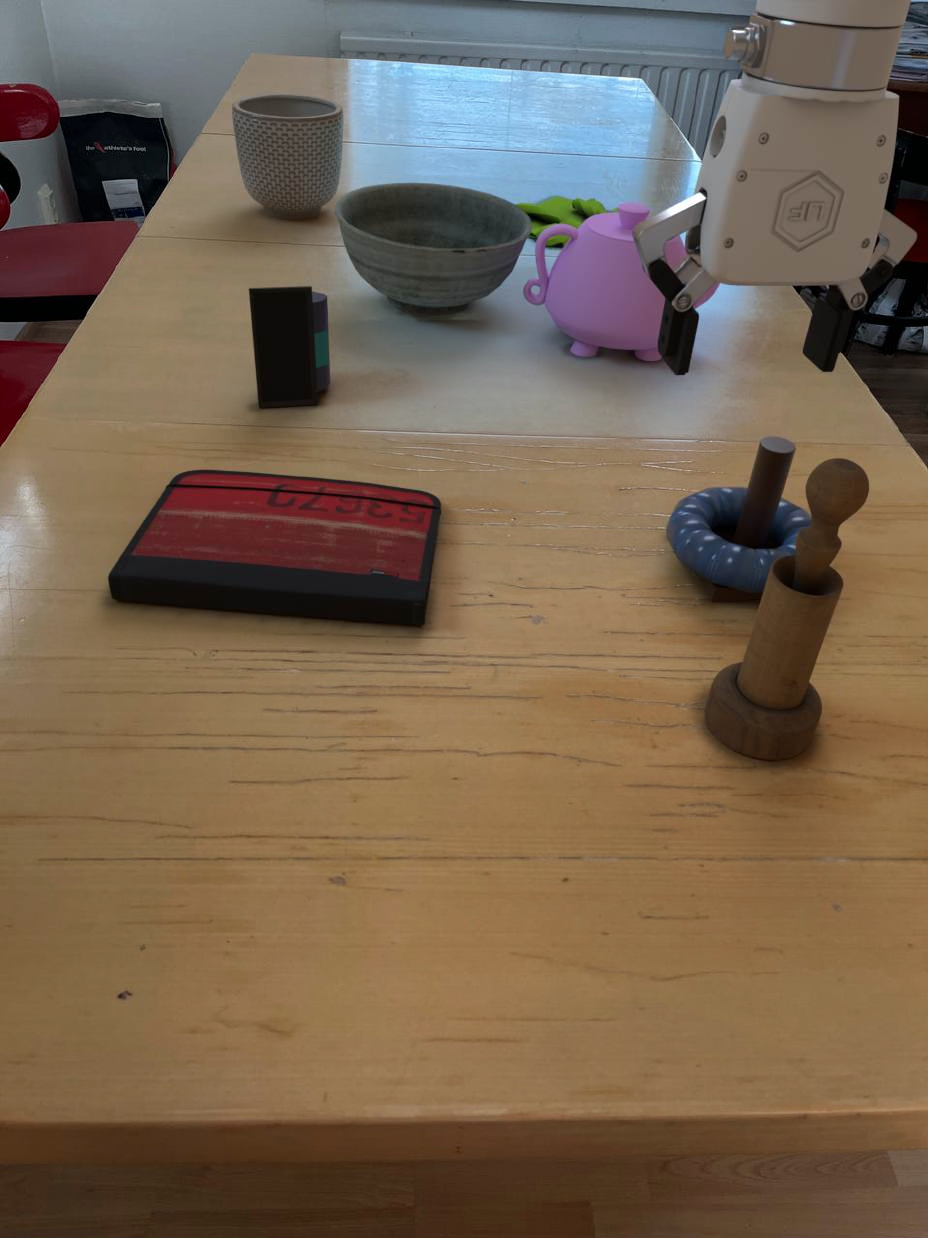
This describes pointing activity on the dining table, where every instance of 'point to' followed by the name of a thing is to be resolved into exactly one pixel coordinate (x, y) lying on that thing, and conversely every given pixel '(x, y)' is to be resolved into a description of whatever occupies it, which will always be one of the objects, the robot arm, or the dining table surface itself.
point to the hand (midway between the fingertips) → (746, 364)
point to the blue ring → (719, 556)
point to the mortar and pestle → (789, 630)
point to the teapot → (604, 284)
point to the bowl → (431, 243)
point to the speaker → (290, 345)
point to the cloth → (561, 215)
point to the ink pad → (284, 547)
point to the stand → (756, 510)
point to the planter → (289, 151)
